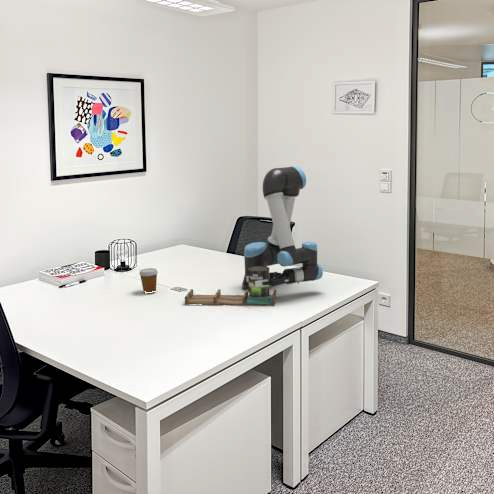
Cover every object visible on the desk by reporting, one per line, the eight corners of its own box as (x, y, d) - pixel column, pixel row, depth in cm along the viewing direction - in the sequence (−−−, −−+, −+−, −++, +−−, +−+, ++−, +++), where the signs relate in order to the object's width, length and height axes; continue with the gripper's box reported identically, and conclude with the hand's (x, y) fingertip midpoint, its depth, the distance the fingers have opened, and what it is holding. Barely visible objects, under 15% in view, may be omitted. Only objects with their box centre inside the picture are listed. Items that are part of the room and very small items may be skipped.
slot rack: (191, 296, 301) (191, 289, 300) (276, 297, 295) (276, 289, 294) (185, 305, 287) (184, 297, 286) (274, 305, 281) (273, 297, 281)
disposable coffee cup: (155, 295, 306) (153, 272, 303) (137, 294, 308) (136, 272, 305) (161, 290, 315) (160, 268, 312) (144, 289, 317) (143, 267, 314)
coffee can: (266, 300, 282) (265, 271, 279) (245, 298, 286) (244, 270, 283) (273, 294, 291) (272, 266, 289) (253, 292, 295) (252, 265, 292)
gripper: (303, 288, 284) (260, 294, 276) (282, 278, 305) (242, 283, 297) (303, 273, 283) (260, 279, 275) (282, 263, 303) (242, 269, 295)
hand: (251, 281), depth 286 cm, fingers closed on coffee can, 10 cm apart
